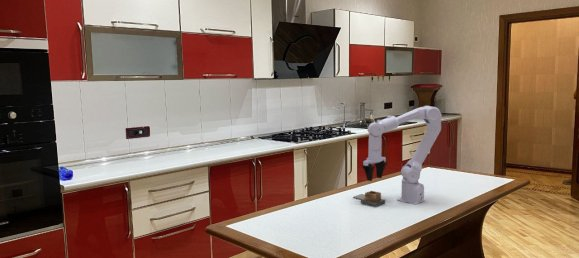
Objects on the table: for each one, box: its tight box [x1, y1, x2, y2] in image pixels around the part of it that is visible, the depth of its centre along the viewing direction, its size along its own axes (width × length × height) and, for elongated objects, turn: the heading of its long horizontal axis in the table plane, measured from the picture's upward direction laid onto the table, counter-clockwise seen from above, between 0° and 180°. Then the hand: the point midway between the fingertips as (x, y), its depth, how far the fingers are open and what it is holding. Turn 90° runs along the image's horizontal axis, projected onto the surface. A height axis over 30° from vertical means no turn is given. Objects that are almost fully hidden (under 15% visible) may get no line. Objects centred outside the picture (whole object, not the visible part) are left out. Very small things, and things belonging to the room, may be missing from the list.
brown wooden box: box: [364, 190, 382, 202], centre depth 190 cm, size 5×5×3 cm
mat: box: [352, 193, 365, 201], centre depth 200 cm, size 7×7×1 cm
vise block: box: [360, 193, 386, 208], centre depth 190 cm, size 8×7×4 cm
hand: (374, 179), depth 194 cm, fingers open, 7 cm apart
